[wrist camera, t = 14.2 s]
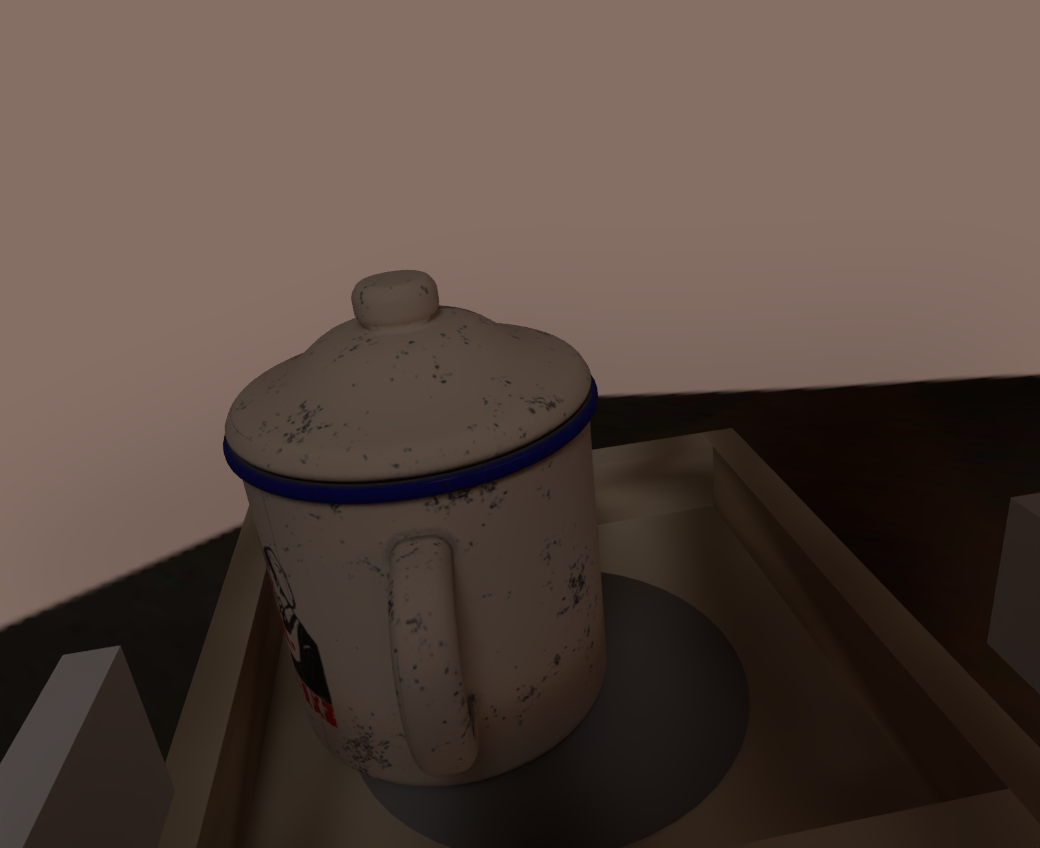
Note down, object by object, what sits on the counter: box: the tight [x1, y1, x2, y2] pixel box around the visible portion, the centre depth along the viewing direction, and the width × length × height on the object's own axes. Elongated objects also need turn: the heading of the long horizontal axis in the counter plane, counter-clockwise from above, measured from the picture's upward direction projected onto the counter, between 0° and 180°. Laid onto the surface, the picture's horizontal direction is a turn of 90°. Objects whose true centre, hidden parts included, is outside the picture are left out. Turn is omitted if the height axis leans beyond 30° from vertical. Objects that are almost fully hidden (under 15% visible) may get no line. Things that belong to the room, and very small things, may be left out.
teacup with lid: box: [223, 270, 607, 787], centre depth 20 cm, size 12×9×12 cm
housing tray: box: [158, 428, 1040, 848], centre depth 23 cm, size 18×18×4 cm
